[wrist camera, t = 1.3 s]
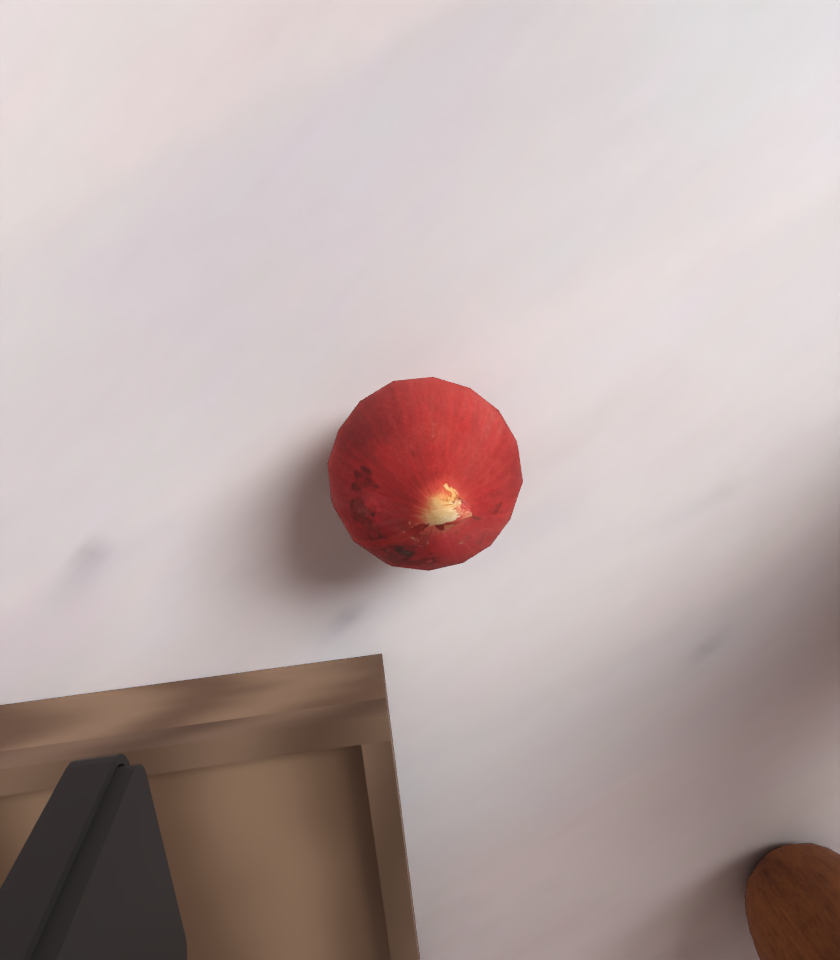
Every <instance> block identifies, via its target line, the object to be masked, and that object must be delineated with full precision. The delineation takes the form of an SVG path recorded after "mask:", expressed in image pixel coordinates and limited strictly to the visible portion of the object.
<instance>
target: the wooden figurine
mask: <svg viewBox="0 0 840 960" xmlns="http://www.w3.org/2000/svg"><path fill="white" fill-rule="evenodd" d="M745 906H746V915H747V919H748V924H749V929H750V933H751V935H752V938H753V941H754V944H755V947H756V950H757V953H758V956H759V957H760V959H761V960H840V855H839V854H837V853H836V852H834V851H832V850H830V849H829V848H826V847H823V846H819V845H816V844H812V843H802V844H786V845H784V846H781V847H779V848H776V849H774V850H771V851H770V852H769V853H768V854H767V855H766V856H765V857H764V858H763V859H762V860H761V861H760V862H759V863H758V865H757V866H756V868H755V870H754V871H753V873H752V874H751V876H750V877H749V878H748V880H747V886H746V892H745Z"/></svg>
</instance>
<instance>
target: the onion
mask: <svg viewBox="0 0 840 960" xmlns="http://www.w3.org/2000/svg"><path fill="white" fill-rule="evenodd" d="M328 472H329V482H330V492H331V500H332V503H333V506H334V508H335V510H336V512H337V514H338V515H339V517H340V519H341V520H342V522H343V524H344V525H345V527H346V529H347V530H348V532H349V534H350V535H351V537H352V539H353V541H354V542H356V543H357V544H359V545H360V546H362V547H363V548H365V549H366V550H367V551H369V552H370V553H372V554H373V555H375V556H376V557H378V558H379V559H380V560H382V561H383V562H385V563H386V564H388V565H390V566H394V567H403V568H411V569H420V570H428V571H429V570H433V569H438V568H442V567H447V566H451V565H456V564H460V563H463V562H465V561H467V560H468V559H470V558H471V557H473V556H474V555H476V554H478V553H479V552H481V551H482V550H484V549H486V548H487V547H489V546H490V545H491V544H492V543H493V542H494V540H495V539H496V538H497V536H498V535H499V534H500V532H501V531H502V530H503V528H504V527H505V525H506V524H507V523H508V521H509V520H510V518H511V515H512V512H513V509H514V506H515V503H516V500H517V497H518V494H519V491H520V488H521V486H522V483H523V480H522V472H521V465H520V458H519V451H518V445H517V441H516V439H515V437H514V436H513V434H512V432H511V431H510V429H509V427H508V425H507V424H506V422H505V420H504V419H503V417H502V415H501V413H500V412H499V410H498V409H496V408H495V407H494V406H492V405H491V404H490V403H489V402H487V401H486V400H485V399H483V398H482V397H481V396H480V395H478V394H477V393H476V392H474V391H473V390H472V389H470V388H468V387H465V386H461V385H458V384H455V383H451V382H448V381H445V380H441V379H438V378H435V377H428V378H418V379H408V380H399V381H393V382H391V383H389V384H388V385H386V386H384V387H383V388H381V389H379V390H378V391H376V392H374V393H373V394H371V395H369V396H368V397H366V398H365V399H363V400H361V401H360V402H359V403H358V405H357V406H356V407H355V409H354V410H353V411H352V413H351V414H350V415H349V417H348V418H347V420H346V421H345V422H344V424H343V425H342V426H341V428H340V429H339V430H338V433H337V436H336V440H335V443H334V446H333V449H332V452H331V455H330V458H329V461H328Z"/></svg>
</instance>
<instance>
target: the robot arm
mask: <svg viewBox="0 0 840 960" xmlns="http://www.w3.org/2000/svg"><path fill="white" fill-rule="evenodd" d="M0 960H187V942H186V936H185V932H184V928H183V924H182V919H181V915H180V911H179V907H178V903H177V899H176V895H175V890H174V886H173V882H172V878H171V874H170V870H169V865H168V861H167V857H166V853H165V849H164V845H163V840H162V836H161V832H160V828H159V824H158V820H157V815H156V811H155V807H154V803H153V799H152V795H151V791H150V786H149V782H148V778H147V774H146V771H145V769H144V767H143V765H141V764H136V765H130V763H129V760H128V759H127V757H126V756H125V755H123V754H115V755H108V756H101V757H94V758H87V759H79V760H74V761H72V762H70V764H69V765H68V766H67V768H66V769H65V771H64V773H63V775H62V776H61V778H60V780H59V782H58V784H57V786H56V787H55V789H54V791H53V793H52V795H51V797H50V798H49V800H48V802H47V804H46V806H45V808H44V809H43V811H42V813H41V815H40V817H39V819H38V820H37V822H36V824H35V826H34V828H33V830H32V831H31V833H30V835H29V837H28V839H27V841H26V842H25V844H24V846H23V848H22V850H21V852H20V853H19V855H18V857H17V859H16V861H15V863H14V864H13V866H12V868H11V870H10V872H9V874H8V875H7V877H6V879H5V881H4V883H3V885H2V886H1V888H0Z"/></svg>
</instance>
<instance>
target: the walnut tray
mask: <svg viewBox="0 0 840 960" xmlns="http://www.w3.org/2000/svg"><path fill="white" fill-rule="evenodd" d="M115 754H123V755H125V756H126V757H127V759H128V760H129V763H130V765H136V764H141V765H143V767H144V769H145V771H146V774H147V778H148V782H149V786H150V791H151V795H152V799H153V803H154V807H155V811H156V815H157V820H158V824H159V828H160V832H161V836H162V840H163V845H164V849H165V853H166V857H167V861H168V865H169V870H170V874H171V878H172V882H173V886H174V890H175V895H176V899H177V903H178V907H179V911H180V915H181V919H182V924H183V928H184V932H185V936H186V942H187V960H420V956H419V948H418V940H417V932H416V924H415V916H414V908H413V900H412V892H411V884H410V876H409V868H408V860H407V852H406V844H405V836H404V828H403V820H402V811H401V803H400V795H399V787H398V779H397V771H396V763H395V755H394V747H393V739H392V731H391V723H390V715H389V707H388V699H387V691H386V683H385V675H384V667H383V659H382V654H377V655H370V656H362V657H355V658H347V659H340V660H332V661H325V662H318V663H310V664H303V665H295V666H288V667H281V668H273V669H266V670H258V671H251V672H244V673H236V674H229V675H221V676H214V677H207V678H199V679H192V680H184V681H177V682H170V683H162V684H155V685H147V686H140V687H133V688H125V689H118V690H110V691H103V692H96V693H88V694H81V695H73V696H66V697H58V698H51V699H44V700H36V701H29V702H21V703H14V704H7V705H0V888H1V886H2V885H3V883H4V881H5V879H6V877H7V875H8V874H9V872H10V870H11V868H12V866H13V864H14V863H15V861H16V859H17V857H18V855H19V853H20V852H21V850H22V848H23V846H24V844H25V842H26V841H27V839H28V837H29V835H30V833H31V831H32V830H33V828H34V826H35V824H36V822H37V820H38V819H39V817H40V815H41V813H42V811H43V809H44V808H45V806H46V804H47V802H48V800H49V798H50V797H51V795H52V793H53V791H54V789H55V787H56V786H57V784H58V782H59V780H60V778H61V776H62V775H63V773H64V771H65V769H66V768H67V766H68V765H69V764H70V762H72V761H74V760H79V759H87V758H94V757H101V756H108V755H115Z"/></svg>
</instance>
